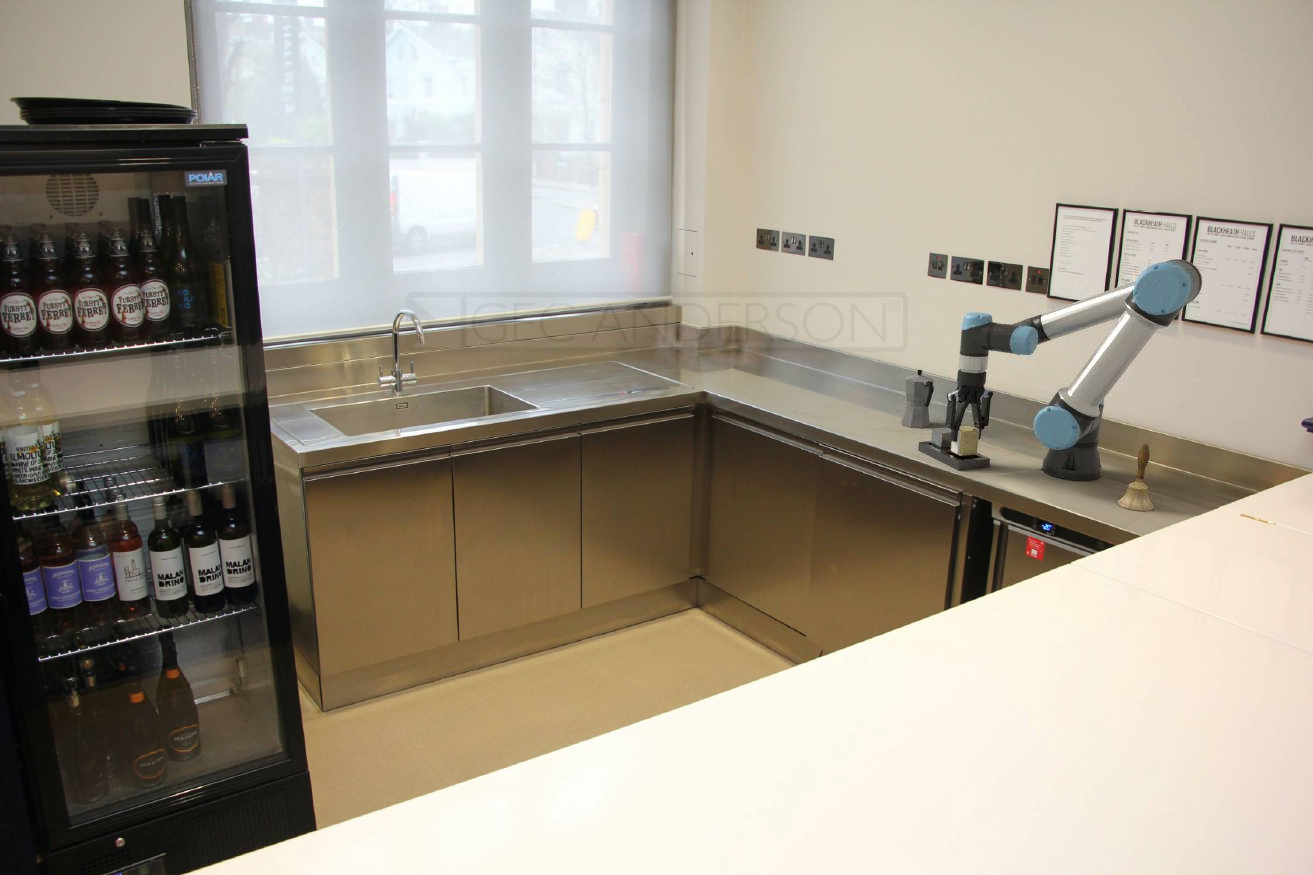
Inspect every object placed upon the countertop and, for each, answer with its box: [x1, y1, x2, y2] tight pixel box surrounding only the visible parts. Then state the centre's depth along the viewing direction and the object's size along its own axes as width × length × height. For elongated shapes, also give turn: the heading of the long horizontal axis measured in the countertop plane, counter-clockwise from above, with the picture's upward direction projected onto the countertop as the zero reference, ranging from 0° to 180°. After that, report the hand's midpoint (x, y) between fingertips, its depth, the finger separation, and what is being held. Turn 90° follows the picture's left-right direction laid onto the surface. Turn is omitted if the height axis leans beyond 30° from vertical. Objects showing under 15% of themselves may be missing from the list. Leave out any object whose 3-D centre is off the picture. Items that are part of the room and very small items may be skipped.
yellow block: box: [951, 425, 979, 456], centre depth 281 cm, size 5×5×7 cm
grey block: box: [930, 427, 952, 450], centre depth 291 cm, size 5×5×7 cm
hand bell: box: [1116, 443, 1154, 512], centre depth 250 cm, size 8×8×16 cm
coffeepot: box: [901, 369, 935, 429], centre depth 321 cm, size 15×9×18 cm, turn 14°
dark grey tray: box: [917, 440, 991, 471], centre depth 287 cm, size 20×10×3 cm, turn 18°
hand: (964, 451), depth 282 cm, fingers closed on yellow block, 5 cm apart
